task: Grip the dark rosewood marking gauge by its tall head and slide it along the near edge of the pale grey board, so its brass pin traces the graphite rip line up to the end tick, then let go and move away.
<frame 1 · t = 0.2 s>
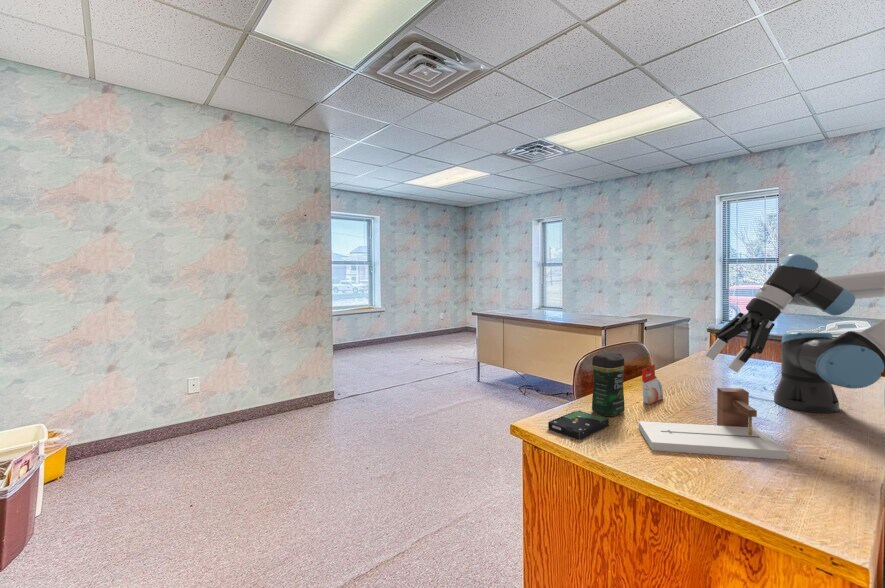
hand: (719, 363, 118), 16 cm above the table, tool tilted 35°, fingers open, 13 cm apart
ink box: (652, 401, 134), on the table
marking gauge: (732, 429, 108), on the table
coffee jar: (608, 413, 124), on the table
disk drive: (578, 430, 113), on the table
grey board: (705, 442, 101), on the table
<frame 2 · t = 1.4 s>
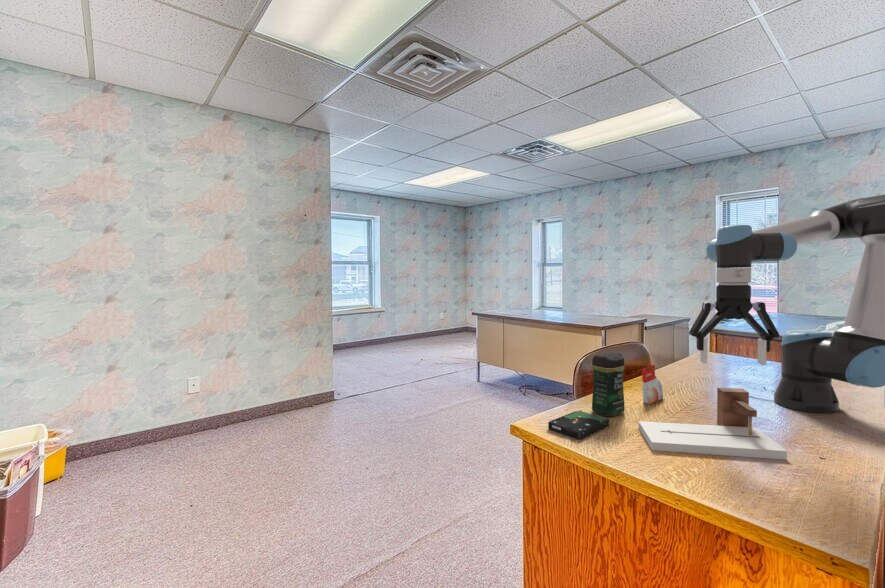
hand: (732, 363, 108), 18 cm above the table, tool pointing down, fingers open, 13 cm apart
nothing on the table moved.
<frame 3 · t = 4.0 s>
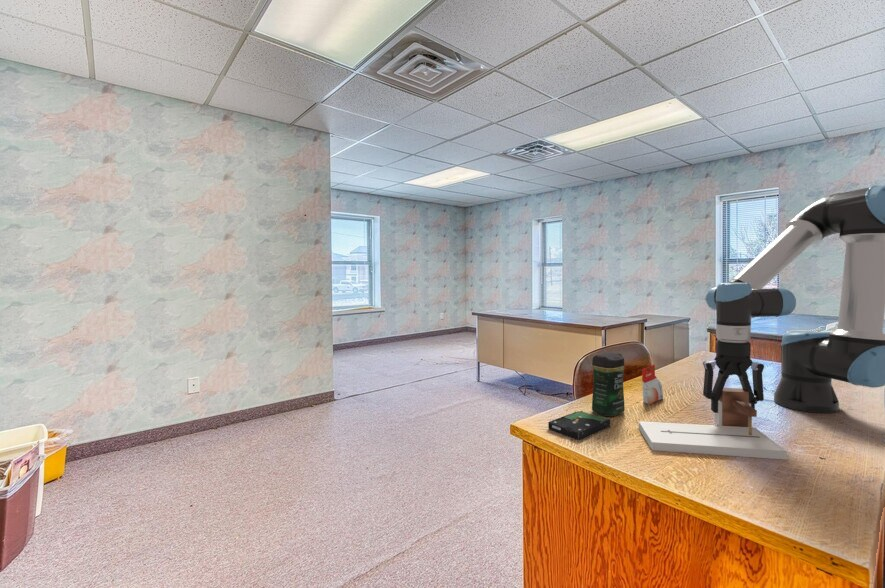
hand: (732, 424, 108), 1 cm above the table, tool pointing down, fingers closed on marking gauge, 6 cm apart
marking gauge: (732, 429, 108), on the table, touching gripper
everything else where it was.
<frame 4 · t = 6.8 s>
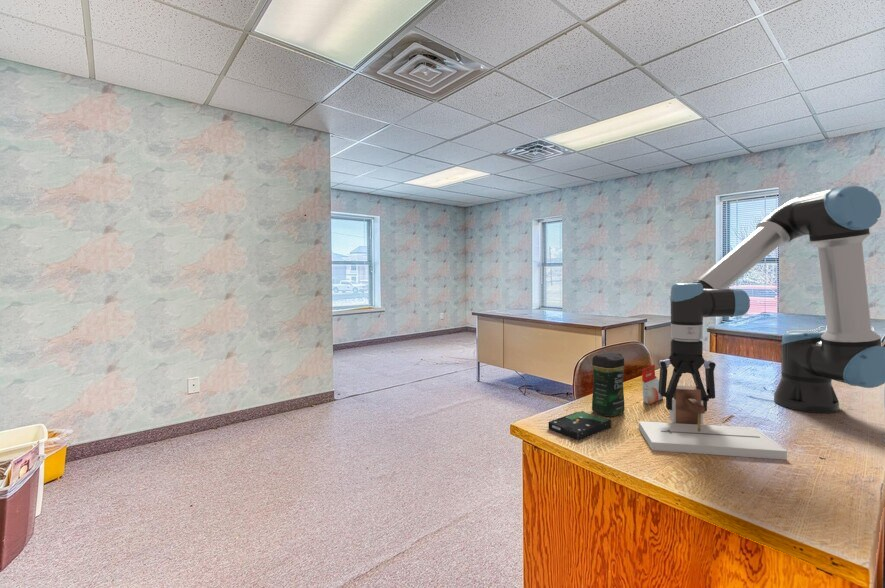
hand: (686, 421, 111), 2 cm above the table, tool pointing down, fingers closed on marking gauge, 6 cm apart
marking gauge: (686, 426, 111), on the table, touching gripper
everything else where it was.
when the fingers open (1 cm above the table, at t = 9.6 s): marking gauge stays where it is, on the table.
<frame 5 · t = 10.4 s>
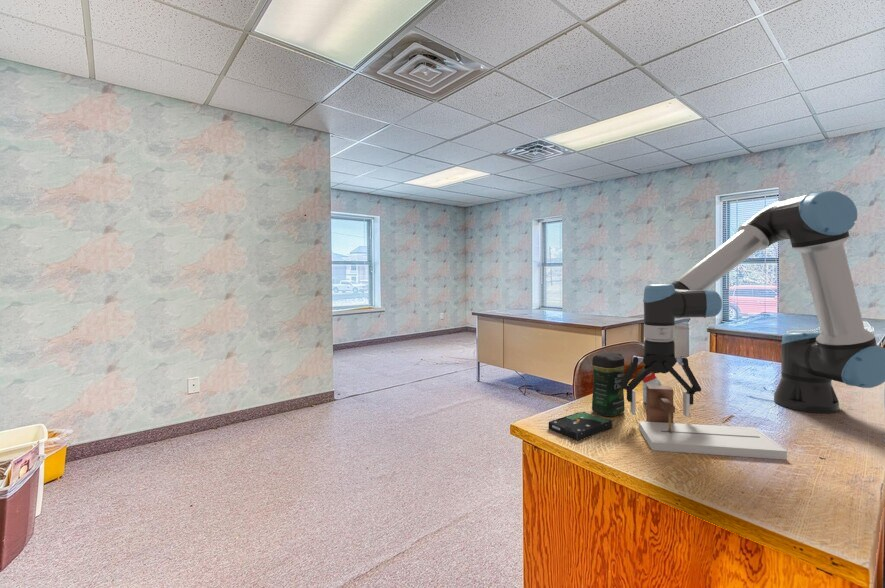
hand: (659, 414, 113), 3 cm above the table, tool pointing down, fingers open, 13 cm apart
marking gauge: (659, 425, 113), on the table
everything else where it was.
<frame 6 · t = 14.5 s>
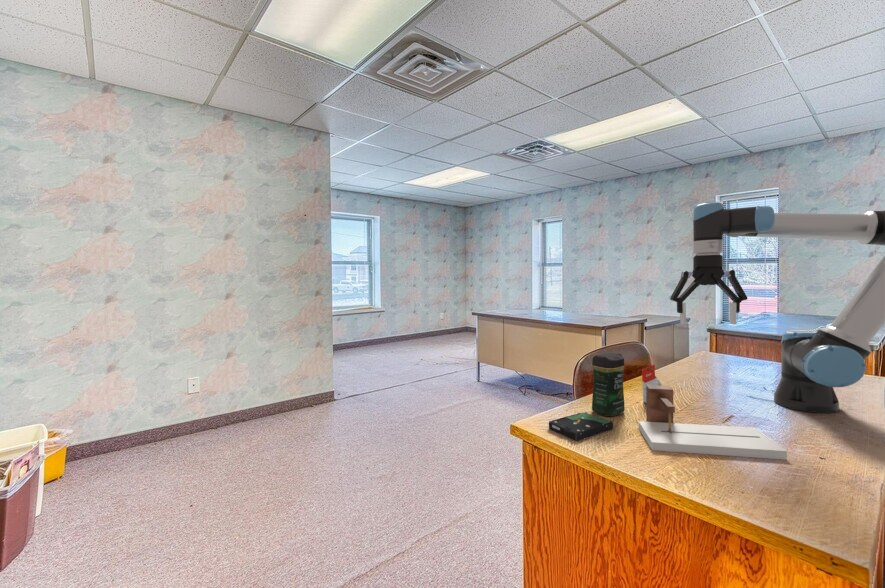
hand: (707, 323, 124), 27 cm above the table, tool pointing down, fingers open, 13 cm apart
at the end: marking gauge 0.1 cm from the target spot, on the table; marking gauge tilted 0°; the gripper is holding nothing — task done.
